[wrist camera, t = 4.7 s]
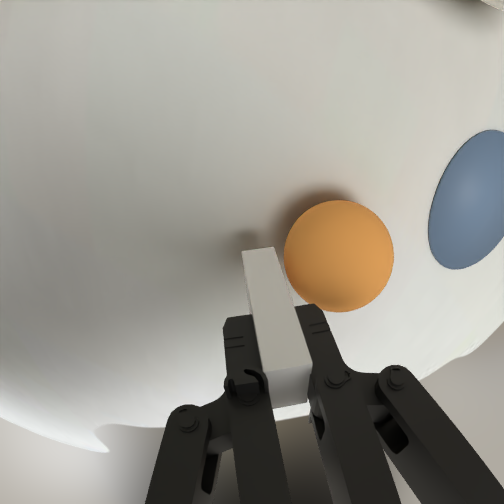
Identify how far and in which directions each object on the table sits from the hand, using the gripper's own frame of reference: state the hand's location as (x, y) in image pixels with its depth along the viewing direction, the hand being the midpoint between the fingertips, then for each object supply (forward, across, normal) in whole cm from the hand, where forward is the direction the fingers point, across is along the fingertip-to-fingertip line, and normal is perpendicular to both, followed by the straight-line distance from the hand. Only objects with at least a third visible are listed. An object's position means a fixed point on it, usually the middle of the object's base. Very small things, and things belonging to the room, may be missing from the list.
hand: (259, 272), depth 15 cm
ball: (0, +4, 0) cm, 4 cm away
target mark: (+3, +18, +1) cm, 18 cm away
